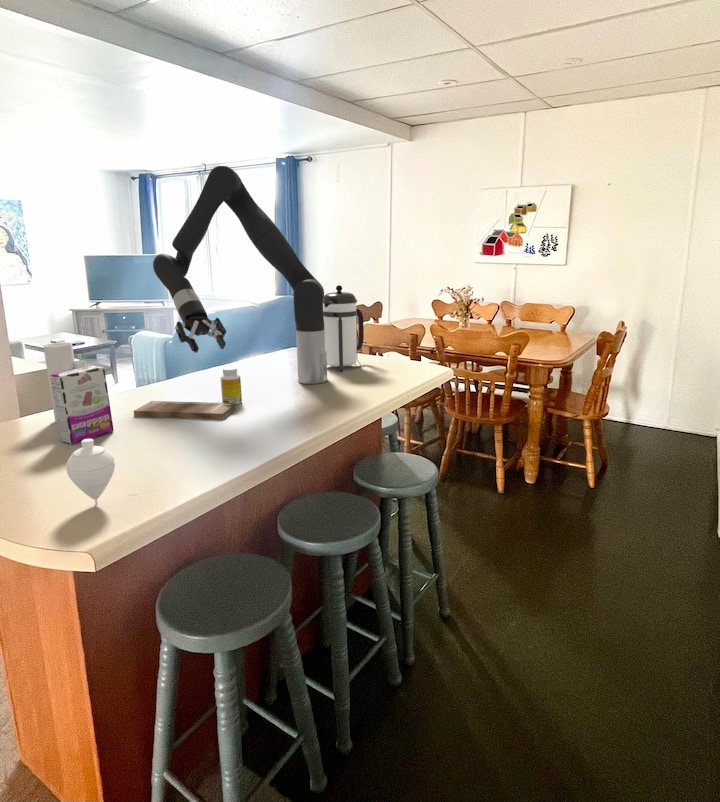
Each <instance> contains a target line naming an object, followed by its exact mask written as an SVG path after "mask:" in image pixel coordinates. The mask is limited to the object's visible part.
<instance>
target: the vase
mask: <svg viewBox="0 0 720 802" xmlns="http://www.w3.org/2000/svg"><path fill="white" fill-rule="evenodd" d="M42 347H43V352H44V359H45V366H46V372H47V378H48V383H49V384H48V385H49V390H50V397H51V403H52V408H53V409H52V410H53V415H54V422H55V423H56V424H58V420H57V415H56V409H55V403H54V398H53V392H52V386H51V381H50V374H55V373H59V372H64V371H69V370H74V369H78V368H83V367H87V364H86V360H75V354H74V353H75V352H74V347H73V343H71V342H54V343H48V344H44V345H43V346H42Z"/></svg>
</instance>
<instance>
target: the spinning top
mask: <svg viewBox="0 0 720 802" xmlns="http://www.w3.org/2000/svg"><path fill="white" fill-rule="evenodd" d="M94 440H95V439H94V438H92V439H84V440H82V441H81V442H80V443H81V446H82V447H80V448H78V449H76V450H75V451H73V452H72V453H71V455H70V457H69V458H68V460H67V462H66V468H65V469H66V470H65V471H66V473H67V477H68V478H69V479H70V480H71V481H72V483H73V484H74V486H75V487H77V488H78V489H79V490H80V491H82V493H84V494H85V495H86V496H87V497H89V498H90V499H92V500H94V504H95V505H98V499H99V498H100V496H102V494H103V493H104V491H105V490H106V488H107V486H108V485H109V483H110V482H111V479H112V478H113V477H112V476H113V474H114V472H115V468H116V461H115V458H114V456H113V454H112V453H111V452H110V451H109V450H107V449H106V448H105V447H103V446H100V445H99V446H98V445H95V444H94Z"/></svg>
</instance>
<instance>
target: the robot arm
mask: <svg viewBox="0 0 720 802" xmlns="http://www.w3.org/2000/svg"><path fill="white" fill-rule="evenodd" d="M252 197H253V196H251V194H250V193H249V191H248V189H247V188H246V186H245V184H244V183H243V181H242V179H241V177H240V175H239V174H238V173H237V172H236V171H235V170H234V169H232V168H231V167H229V166H227V165H223V164H221V165H217V166H214V167H213V168H211V170H210V171H209V173H208V176H207V178H206V181H205V182H204V186H203V187H202V190H201V192H200V194H199V197H198V198H197V201H196V202H195V205H194V206H193V208H192V209H191V211H190V213H189V214H188V217H187V218H186V220H185V221H184V222H183V224H182V226H181V227H180V229H179V231H178V232H177V233H176V235H175V237H174V238H173V241H172V244H171V246H172V247H173V249H174V250H175V251H176V256H175V257H174V256H171V254H168V253H159V254H158V255H156V256H155V257H154V259H153V263H152V267H153V272H154V273H155V276H156V277H157V278H158V279H159V281H160V282H161V283H162V285H163V286H164V287H165V288H166V289H167V291H168V293H169V295H170V296H171V299H172V301H173V303H174V306H175V309H176V311H177V313H178V315H179V318H180V319H181V321H182V322H181V321H177V322H176V325H175V327H174V329H175V331H176V334H177V336H178V339H179V341H180V343H183V344H184V343H185V342H186V343H187V344H188V346H189V347H190V350H191V351H192V352H193V353H198V352H199V349H200V348H199V345H198V344H197V342H196V340H195V338H194V335H195V336H197V337H199V336H206V335H207V336H209V337H212V338H214V339H215V340H216V343H217V344H218V346H219V348H220V350H224V349H225V347H226V340H225V339H224V338H225V335H226V334H227V329H226V328H225V327H224V324H223V323H222V321H221V319H220V318H219V317H215V319H213V320H211V319H210V318H209V317H208V314H207V311H206V309H205V307H204V306H203V304H202V301H201V299H200V298H199V296H198V295H197V293H196V292H195V289H194V287H193V286H192V284H191V282H190V281H189V279H188V278H186V276H187V274H188V271H189V269H190V267H191V266H190V265H191V263H192V259H193V256H194V253H195V252H196V250H197V249H198V247H199V246H200V244H201V242H202V241H203V239H204V238H205V235H206V233H207V231H208V229H209V226H210V223H211V221H212V219H213V217H214V216H215V213H216V212H217V210H218V209H220V207H221V205H222V204H223V202H224V203H225V205H227V206H228V208H229V209H230V210H231V211H232V212H233V213H234V215H235V216H236V217H237V218H238V220H239V221H240V224H241V226H242V228H243V229H244V232H245V233H246V235H247V237H248V238H249V240H250V241H251V243H252V244H253V246H254V247H255V248H256V249H257V251H258V252H259V254H260V255H261V256H262V257H263V258H264V259H265V260H266V262H268V263H269V264H270V265H271V266H272V267H273V268H274V269H275V270H277V271H278V272H279V273H280V274H281V275H282V276H283V278H285V280H286V281H287V283H288V284H289V286H290V287H291V288H292V291H293V310H294V311H293V312H294V321H295V322H294V323H295V327H296V328H295V329H296V330H295V331H296V335H295V336H296V361H297V380H298V382H299V383H300V384H306V385H313V384H314V385H315V384H317V385H318V384H325V382H326V381H327V380H328V365H327V352H326V351H325V333H324V318H323V299H324V296H325V289H324V287H323V286H322V283H320V281H318V280H317V278H316V277H315V276H313V274H312V273H311V272H310V271H309V270H308V269H307V268H306V266H305V265H304V264H303V263H302V261H301V260H300V259H299V257H298V255H297V254H296V252H295V250H294V249H293V248H292V246H291V245H290V243H289V241H288V240H287V239H286V237H285V236H284V234H283V233H282V231H280V229H279V228H278V226H277V225H276V224H275V223H274V221H273V220H272V219H271V218H270V217H269V216H268V215H267V213H266V212H265V211H264V210H263V209H262V208H261V207H260V206H259V205H258V204H257V203H256V201H255V200H254V199H253V198H252ZM184 329H185V330H187V331H188V332H189V334H188V335H187V333H186V332H185V330H184ZM210 330H211V331H210Z"/></svg>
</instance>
